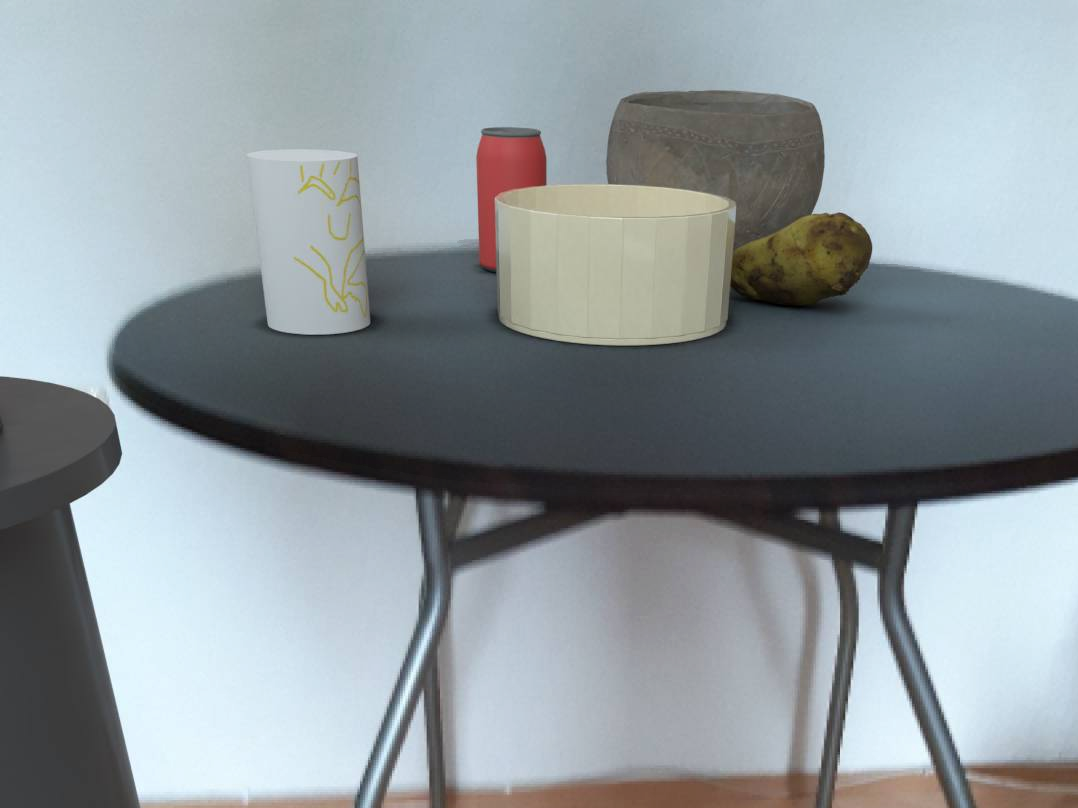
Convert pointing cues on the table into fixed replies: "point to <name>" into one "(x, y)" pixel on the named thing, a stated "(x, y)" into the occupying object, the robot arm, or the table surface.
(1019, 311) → the table surface
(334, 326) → the cup
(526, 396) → the table surface
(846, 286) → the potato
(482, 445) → the table surface
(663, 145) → the bowl
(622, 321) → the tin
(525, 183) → the beer can
